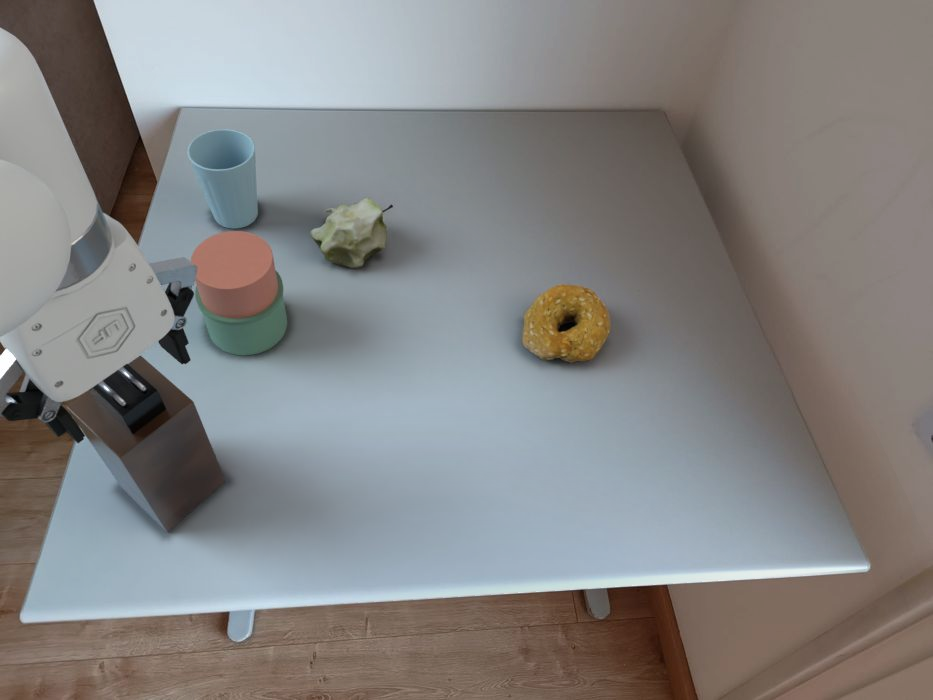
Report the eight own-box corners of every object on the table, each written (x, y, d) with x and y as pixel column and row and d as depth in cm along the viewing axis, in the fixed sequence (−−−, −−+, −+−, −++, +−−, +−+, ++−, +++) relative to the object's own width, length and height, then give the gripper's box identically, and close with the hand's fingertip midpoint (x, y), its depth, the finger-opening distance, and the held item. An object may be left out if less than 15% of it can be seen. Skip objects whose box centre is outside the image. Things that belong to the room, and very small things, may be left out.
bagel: (501, 323, 86) (507, 297, 82) (573, 291, 90) (581, 265, 86) (550, 383, 81) (558, 359, 77) (623, 346, 85) (634, 321, 82)
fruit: (386, 231, 95) (398, 191, 88) (374, 287, 90) (386, 249, 83) (318, 213, 93) (324, 170, 87) (302, 269, 89) (307, 228, 82)
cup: (210, 240, 89) (193, 175, 81) (200, 200, 93) (182, 134, 85) (271, 228, 92) (260, 163, 83) (258, 190, 96) (246, 124, 87)
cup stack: (244, 371, 79) (226, 307, 70) (189, 326, 81) (165, 259, 73) (305, 323, 83) (296, 258, 74) (252, 282, 86) (237, 215, 77)
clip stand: (167, 532, 67) (119, 458, 55) (121, 487, 69) (65, 406, 57) (226, 481, 71) (193, 401, 59) (180, 440, 73) (140, 354, 61)
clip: (132, 434, 56) (120, 413, 54) (94, 398, 58) (80, 376, 55) (166, 409, 58) (156, 387, 55) (128, 374, 60) (116, 351, 57)
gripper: (-70, 358, 37) (53, 495, 51) (198, 197, 46) (242, 351, 60) (-143, 284, 40) (-6, 433, 54) (126, 143, 48) (184, 303, 62)
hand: (125, 390), depth 57 cm, fingers open, 9 cm apart
